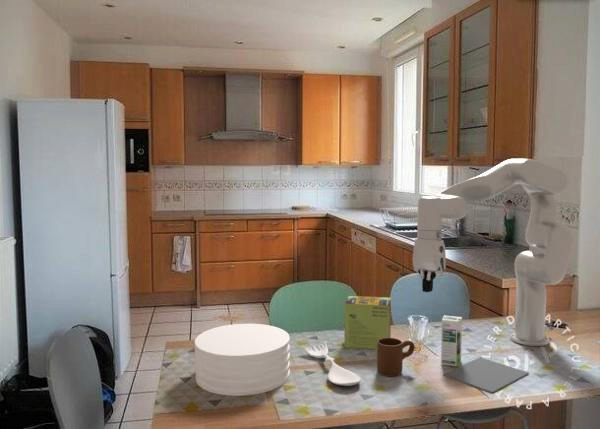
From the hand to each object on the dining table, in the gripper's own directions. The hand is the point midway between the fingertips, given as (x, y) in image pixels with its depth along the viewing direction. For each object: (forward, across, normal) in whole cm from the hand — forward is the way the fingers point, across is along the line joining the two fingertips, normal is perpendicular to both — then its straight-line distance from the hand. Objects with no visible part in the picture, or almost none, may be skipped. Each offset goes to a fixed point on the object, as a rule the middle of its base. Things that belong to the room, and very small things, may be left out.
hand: (427, 291), depth 169 cm
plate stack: (+23, +26, +54) cm, 64 cm away
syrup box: (+21, -9, -1) cm, 23 cm away
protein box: (+22, +20, +6) cm, 30 cm away
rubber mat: (+21, -21, -1) cm, 30 cm away
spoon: (+22, +12, +31) cm, 40 cm away
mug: (+22, -2, +17) cm, 28 cm away
